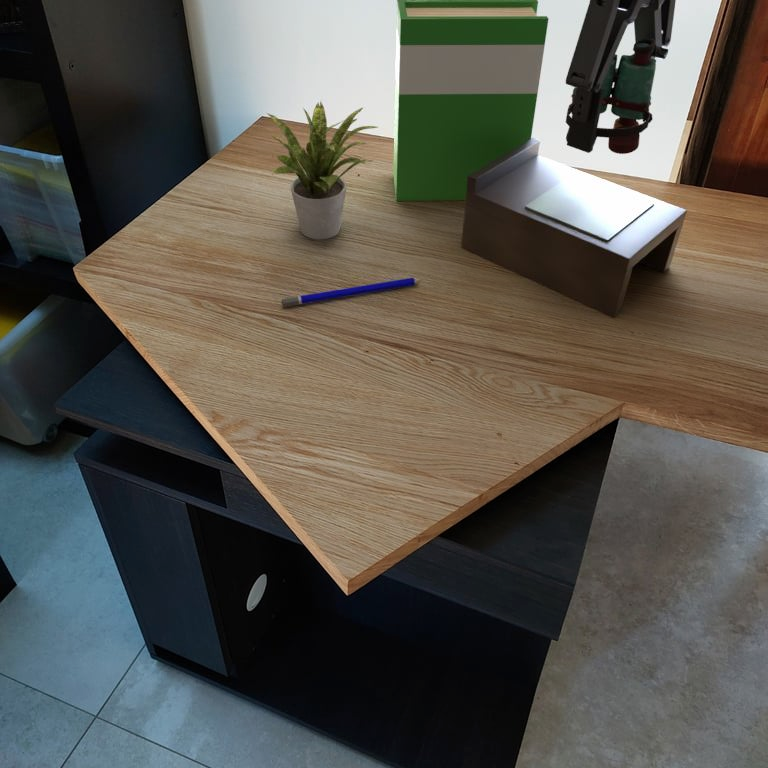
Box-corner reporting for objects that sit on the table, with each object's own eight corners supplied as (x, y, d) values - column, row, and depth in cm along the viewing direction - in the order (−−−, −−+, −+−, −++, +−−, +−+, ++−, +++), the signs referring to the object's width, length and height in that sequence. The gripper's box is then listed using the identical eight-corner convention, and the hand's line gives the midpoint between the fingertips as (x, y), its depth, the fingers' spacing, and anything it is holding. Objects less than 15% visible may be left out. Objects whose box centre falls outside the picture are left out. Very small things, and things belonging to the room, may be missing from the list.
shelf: (669, 267, 97) (692, 194, 90) (613, 318, 89) (633, 243, 82) (522, 206, 108) (532, 137, 101) (461, 247, 100) (467, 175, 93)
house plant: (399, 247, 99) (403, 124, 88) (298, 273, 95) (288, 147, 84) (354, 196, 109) (352, 80, 98) (260, 217, 104) (247, 98, 93)
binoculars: (574, 68, 77) (582, 24, 83) (558, 162, 85) (567, 115, 91) (667, 77, 75) (668, 32, 82) (642, 171, 83) (645, 123, 90)
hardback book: (513, 174, 114) (536, -1, 98) (522, 199, 109) (548, 18, 93) (393, 175, 114) (397, -1, 97) (396, 201, 108) (400, 19, 92)
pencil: (282, 308, 89) (282, 301, 89) (281, 304, 90) (280, 297, 89) (422, 285, 93) (422, 278, 92) (420, 281, 94) (420, 274, 93)
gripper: (674, -125, 79) (625, 91, 94) (551, -88, 66) (518, 155, 81) (746, -114, 75) (683, 109, 90) (631, -73, 63) (581, 179, 78)
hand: (605, 131), depth 86 cm, fingers closed on binoculars, 10 cm apart
